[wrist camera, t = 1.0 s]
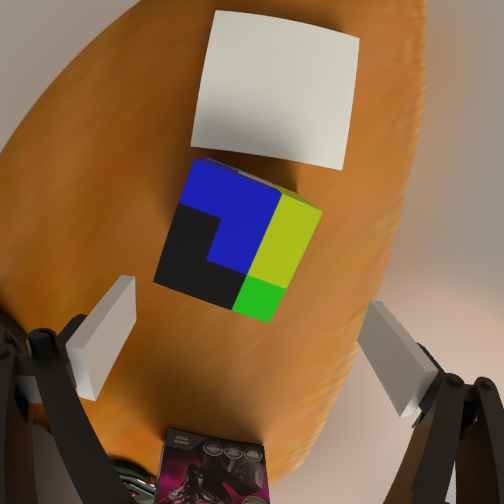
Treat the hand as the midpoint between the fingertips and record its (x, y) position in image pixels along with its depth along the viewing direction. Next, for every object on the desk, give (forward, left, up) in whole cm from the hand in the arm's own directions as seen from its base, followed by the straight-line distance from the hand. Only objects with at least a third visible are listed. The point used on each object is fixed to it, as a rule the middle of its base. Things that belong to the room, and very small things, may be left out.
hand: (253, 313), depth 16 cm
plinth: (+1, +15, -17) cm, 23 cm away
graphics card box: (0, -38, -18) cm, 42 cm away
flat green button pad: (-17, -60, -18) cm, 65 cm away
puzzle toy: (-1, +1, -18) cm, 18 cm away
